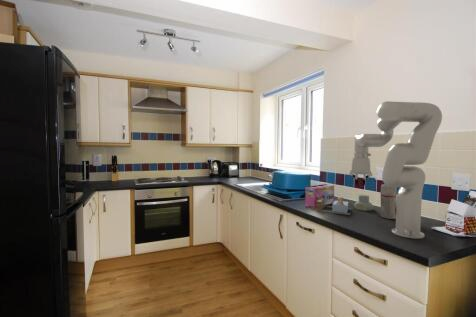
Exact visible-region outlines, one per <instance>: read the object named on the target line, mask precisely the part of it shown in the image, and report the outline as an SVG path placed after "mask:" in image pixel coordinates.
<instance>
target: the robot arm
mask: <svg viewBox="0 0 476 317" xmlns="http://www.w3.org/2000/svg"><path fill="white" fill-rule="evenodd" d="M376 114H377V115H376V116H377V117H378V120H377V123H376V125H377V127H378V129H379V130H380V131H382V132H380V133H364V134H357V135H355V136H354V151H353V152H354V154H353V157H352V161H351V169H350V171H349V176H352V177H353V178H354V179H355V185H356V186H357V187H359V178H358V177H359V175H362V176H363V178H362V187H365V186H366V180H367V179H368V178H370V177H372V176H373V173H372V171H371V159H370V157H371V156H372V153H370V152H369V148H381V147H384V146H386V145H387V144H388V143H389V142H390V141H391V140H392V139H393V136H394V130H395V128H397V127H398V126H399V125H400V124H401V123H418V124H417V125H416V126H415V127H414V128H413V129H412V131H411V133H410V135H409V138H408V142H404V143H403V142H401V143H400V142H399V143H396V144H393V145H392V146H391V147H390V148H389V149H388V152H387V154H386V159H385V162H384V166H383V170H382V175H381V176H382V178H381V179H382V182H383V184H385V185H387V186H389V187H396V188H399V189H398V191H397V192H396V195H397V199H396V203H397V204H396V219H395V227H393V228H391V233H393V235H395V236H399V237H402V238H407V239H414V240H415V239H416V240H417V239H418V240H419V239H424V238H425V233H424V232H422V231H421V225H422V224H421V223H422V222H421V221H422V220H421V219H422V199H423V189H424V186H425V181H426V173H425V171H424V170H423V169H422V168H421V167H418V166H419V165H423V164H425V163H426V162H427V160H428V159H429V155H430V152H431V150H432V146H433V143H434V140H435V137H436V135H437V132H438V130H439V128H440V127H441V124H442V120H443V114H442V111H441V108H440V107H439V106H437V105H436V104H434V103H430V102H419V101H418V102H415V101H411V102H410V101H389V100H388V101H383V102H382V103H380V104H379V106H378V107H377V110H376Z"/></svg>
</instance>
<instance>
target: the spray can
mask: <svg viewBox="0 0 476 317" xmlns="http://www.w3.org/2000/svg"><path fill="white" fill-rule="evenodd" d="M397 192H398V191H397V187H389V186H387V185H385V184H384V183H383V184H381V186H380V217H381V218H383V219H387V220H389V219H390V220H396V205H397Z"/></svg>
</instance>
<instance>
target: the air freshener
mask: <svg viewBox="0 0 476 317" xmlns="http://www.w3.org/2000/svg"><path fill="white" fill-rule="evenodd" d="M353 206H354V208H355V209H356V210H359V211H365V212H371V211H373V209H374V205H373V204H372V203H371V202H370V195H369V194H358V200H357V201H356V202H355V203H354V204H353Z"/></svg>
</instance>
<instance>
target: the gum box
mask: <svg viewBox="0 0 476 317" xmlns="http://www.w3.org/2000/svg"><path fill="white" fill-rule="evenodd" d="M304 196H305V198H304V202H305V203H304V206H305V207H306V208H309V207H313V208H316V205H317V201H318V200H319V199H320V198H321V197H322V198H325V204H324V206H328V205H330V204H333V203H334V201H335V185H334V184H332V185H328V184H325V183H324V184H323V183H322V184H317V185H309V186H305V195H304Z"/></svg>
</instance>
